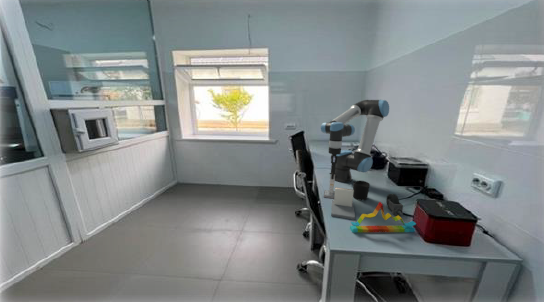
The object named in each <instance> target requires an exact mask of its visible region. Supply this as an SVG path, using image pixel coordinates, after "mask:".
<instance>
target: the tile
mask: <svg viewBox="0 0 544 302" xmlns="http://www.w3.org/2000/svg"><path fill="white" fill-rule="evenodd" d="M334 191H335V196H334V199H333V201H334V204H336V205H343V206H349V207H352V203H353V201H354V197H353V192H354V190H353V189H351V188H350V189H349V188H343V187H335V188H334Z"/></svg>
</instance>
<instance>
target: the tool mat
mask: <svg viewBox="0 0 544 302" xmlns="http://www.w3.org/2000/svg"><path fill="white" fill-rule="evenodd" d="M323 198H326V199H331V200H332V199H333V200H334V197H329V196H325V190H324V192H323Z"/></svg>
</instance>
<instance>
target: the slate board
mask: <svg viewBox="0 0 544 302" xmlns="http://www.w3.org/2000/svg"><path fill="white" fill-rule="evenodd" d="M331 200H332V199H331ZM354 207H355V206H354V203H353V202H352V207H349V206H343V205H336V204H334V199H333V200H332V201H331V212H330V216H331V217H333V218H341V219H345V220H346V219H348V220H354V221H355V220H356V213H355V208H354Z"/></svg>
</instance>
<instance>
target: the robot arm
mask: <svg viewBox="0 0 544 302" xmlns="http://www.w3.org/2000/svg"><path fill="white" fill-rule="evenodd" d="M389 113H390V104H389V102H388V101H387V100H385V99H364V100H361V101H358V102H356V103H354V104H353V105H350V107H349V109H347V110H345V111H344V112H343V113H341V114H339V115H338V116H337V117H335V118H334V119H332V120H331V121H328V122H327V121H326V122H322V123H321V126H320V131H321V132H322V133H324V134H327V135H329V141H328V153H329V154H330V163H331V165H330V166H331V167H330V172H329V175H330V177H329V185H330V184H334V185H335V182H339V183H340V182H341V183H349V182H351V181H352V180H353V179H352V177H353V176H352V173H351V172H352V171H351V170H353V171H357V172H360V173H367V172H369V171H370V170H371V168H372V166H373V163H374V161H373V158H372V154H371V151H372V148H373V144H374V142H375V137H376V135H377V132H378V128H379V126H380V123H381V122H382V121H383V120H384V118H386V117H388V115H389ZM360 116H365V117H366V123H365V126H364V128H363V132H362V134H361V138H360V141H359V144H358V147H357V149H356V150H355V151H354V152H353V151H352V150H348V149H345V150H344V149H343V150H342V147H343V146H342V145H343V143H342V142H343V138H344V137H350V136H352V135H354V134H355V132H356V128H355V125H353V124H349V122H350V121H352V120H353V119H354V118H358V117H360Z"/></svg>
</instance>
